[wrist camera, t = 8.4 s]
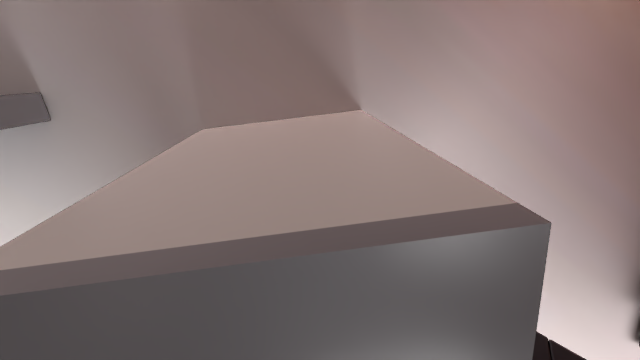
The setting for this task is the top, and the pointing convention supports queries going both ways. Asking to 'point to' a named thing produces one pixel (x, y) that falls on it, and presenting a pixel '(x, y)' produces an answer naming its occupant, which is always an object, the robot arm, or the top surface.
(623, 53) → the top surface
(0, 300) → the grey rectangular block
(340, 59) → the top surface
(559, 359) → the robot arm
